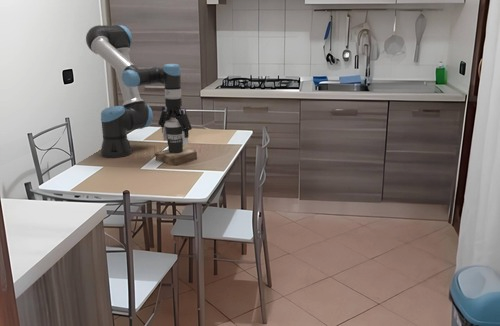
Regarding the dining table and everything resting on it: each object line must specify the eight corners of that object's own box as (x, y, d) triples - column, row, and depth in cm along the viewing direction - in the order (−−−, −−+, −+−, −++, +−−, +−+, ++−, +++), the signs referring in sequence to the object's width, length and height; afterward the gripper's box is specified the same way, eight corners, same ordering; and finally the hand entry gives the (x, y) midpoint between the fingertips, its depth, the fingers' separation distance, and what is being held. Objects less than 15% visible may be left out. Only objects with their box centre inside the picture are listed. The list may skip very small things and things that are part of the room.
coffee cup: (161, 153, 233) (159, 122, 228) (172, 148, 241) (170, 118, 237) (179, 155, 229) (177, 123, 225) (189, 149, 238) (187, 119, 233)
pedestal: (155, 160, 235) (155, 152, 234) (176, 154, 246) (176, 146, 245) (175, 165, 227) (175, 157, 226) (196, 158, 237) (196, 150, 236)
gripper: (149, 96, 232) (152, 139, 238) (186, 101, 217) (188, 147, 224) (161, 94, 238) (163, 136, 244) (198, 99, 223) (199, 144, 229)
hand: (175, 142), depth 234 cm, fingers open, 13 cm apart
